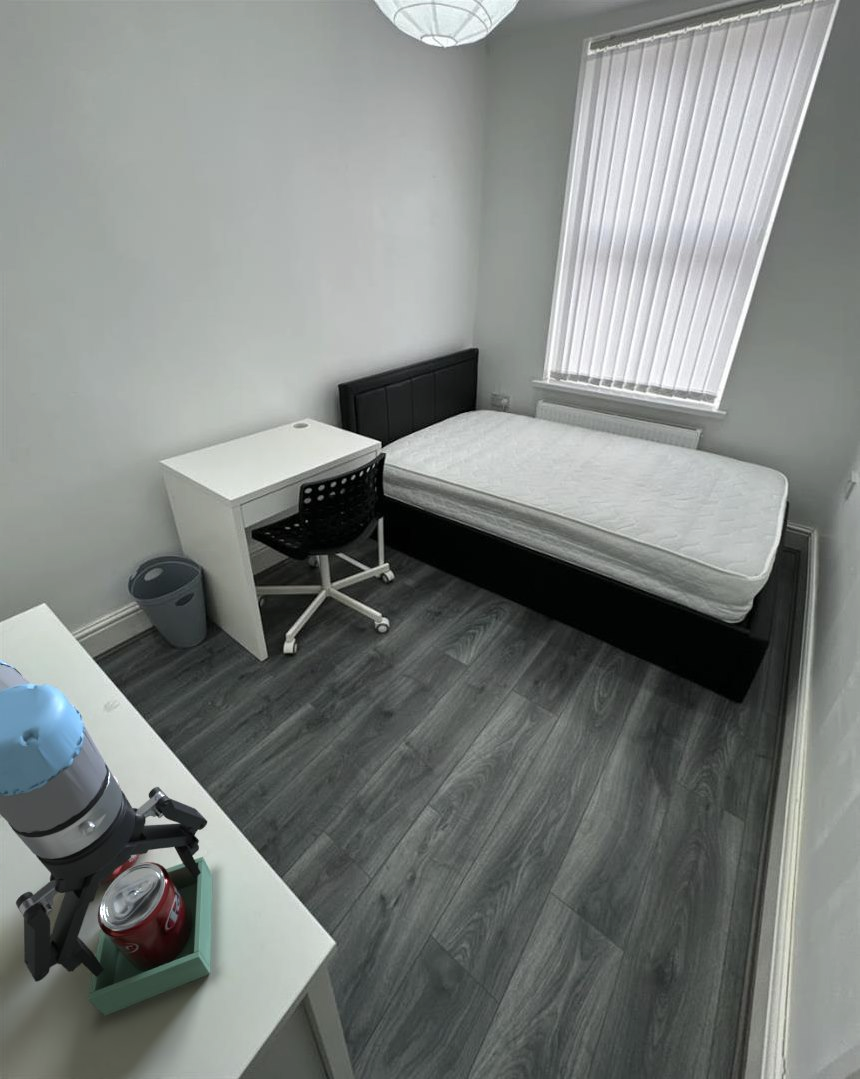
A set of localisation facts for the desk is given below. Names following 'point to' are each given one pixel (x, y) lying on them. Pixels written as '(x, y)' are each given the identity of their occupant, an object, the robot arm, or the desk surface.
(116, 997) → the teal square tray
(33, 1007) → the desk surface
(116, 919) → the soda can
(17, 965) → the desk surface
